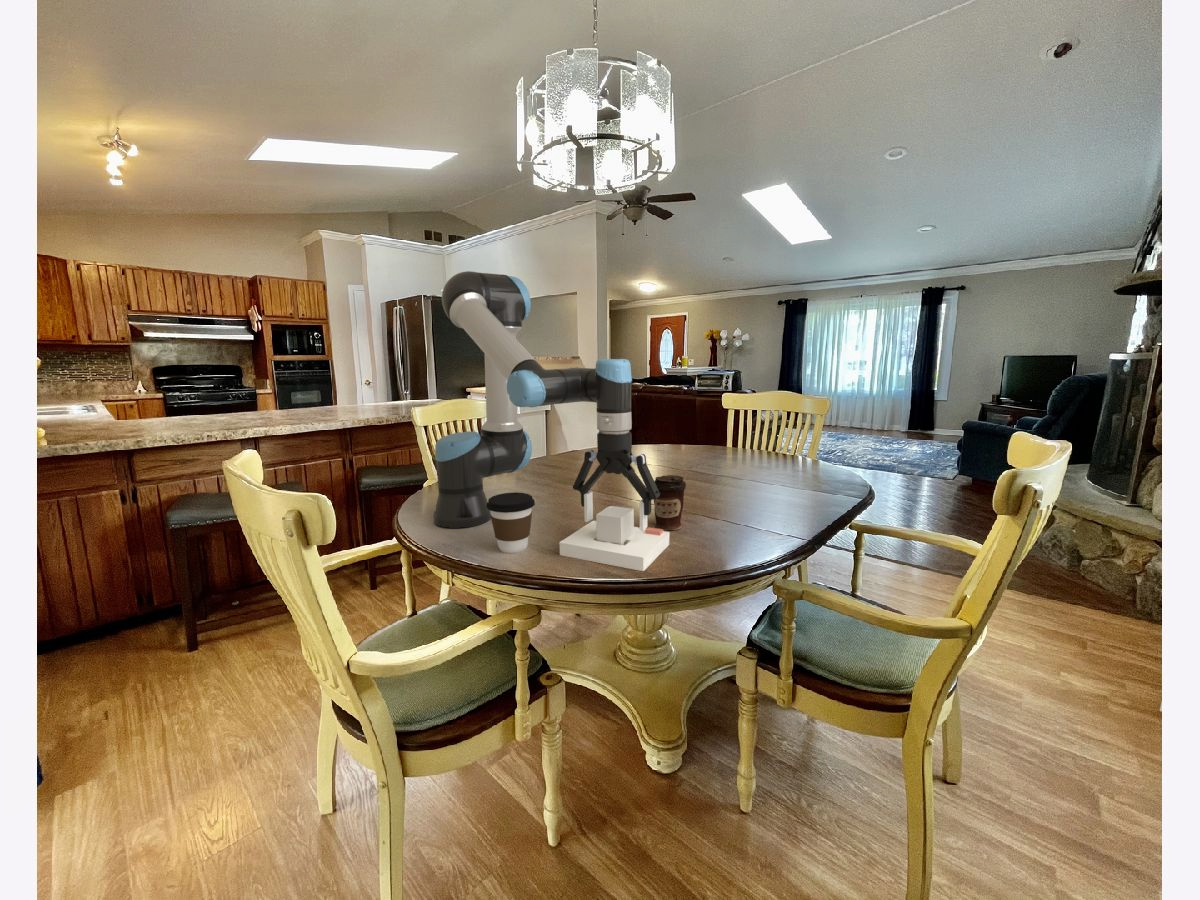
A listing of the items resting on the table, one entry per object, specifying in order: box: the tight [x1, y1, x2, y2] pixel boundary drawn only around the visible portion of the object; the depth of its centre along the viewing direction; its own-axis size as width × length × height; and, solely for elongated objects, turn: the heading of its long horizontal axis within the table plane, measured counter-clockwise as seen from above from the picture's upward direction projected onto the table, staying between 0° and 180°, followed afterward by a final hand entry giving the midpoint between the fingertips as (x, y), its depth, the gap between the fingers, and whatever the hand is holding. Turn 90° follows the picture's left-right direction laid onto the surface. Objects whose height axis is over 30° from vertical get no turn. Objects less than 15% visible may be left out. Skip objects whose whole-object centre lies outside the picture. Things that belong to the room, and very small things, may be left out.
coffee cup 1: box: [487, 492, 536, 554], centre depth 114 cm, size 11×11×12 cm
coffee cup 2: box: [653, 474, 687, 531], centre depth 126 cm, size 9×8×13 cm
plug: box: [595, 505, 635, 545], centre depth 113 cm, size 7×6×9 cm
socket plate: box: [558, 520, 670, 572], centre depth 113 cm, size 16×20×4 cm
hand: (615, 524), depth 112 cm, fingers open, 13 cm apart
